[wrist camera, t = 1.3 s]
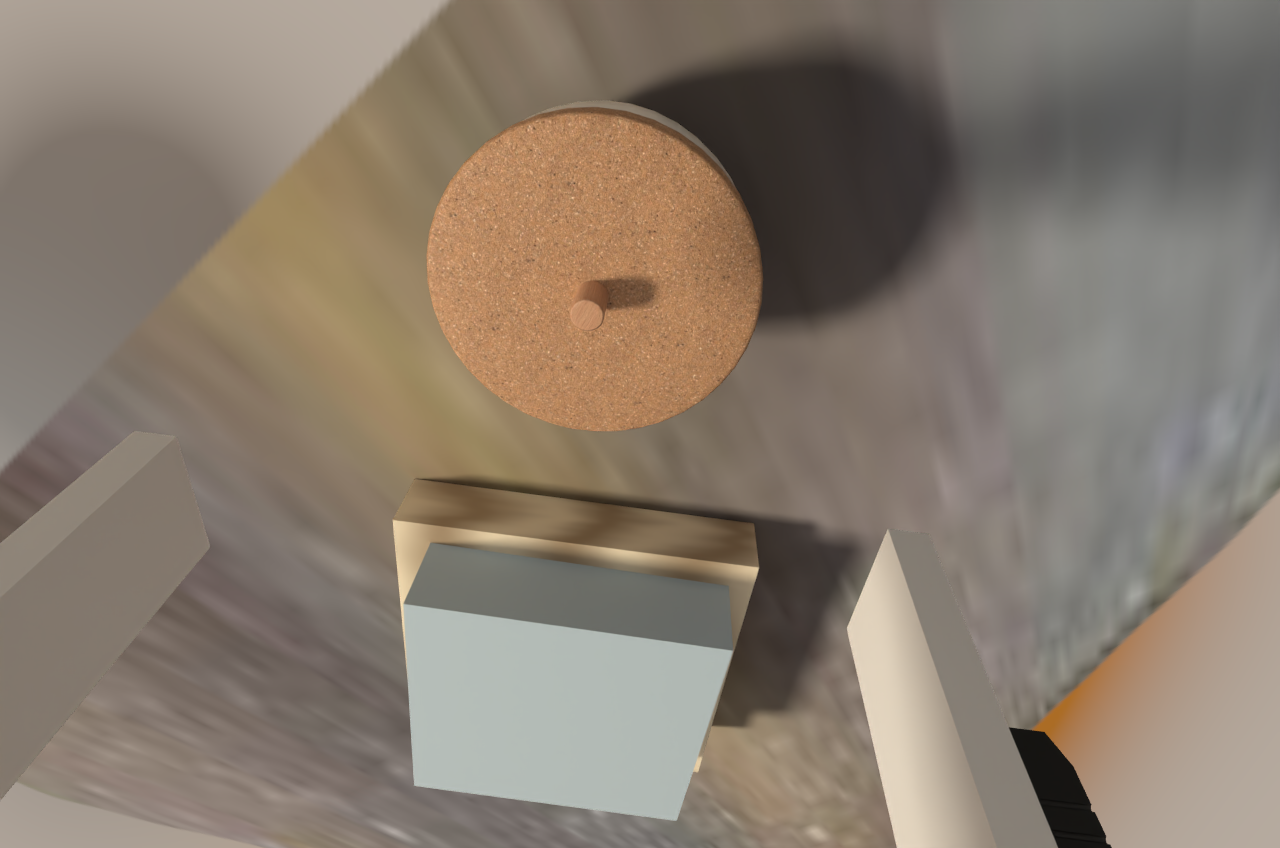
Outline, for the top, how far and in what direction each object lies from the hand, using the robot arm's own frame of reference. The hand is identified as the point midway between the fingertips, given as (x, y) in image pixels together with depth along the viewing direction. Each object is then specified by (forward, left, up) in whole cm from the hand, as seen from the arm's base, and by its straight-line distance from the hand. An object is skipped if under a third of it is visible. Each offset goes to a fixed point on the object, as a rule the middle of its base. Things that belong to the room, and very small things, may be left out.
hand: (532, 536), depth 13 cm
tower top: (0, +24, -15) cm, 28 cm away
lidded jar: (0, 0, -19) cm, 19 cm away
